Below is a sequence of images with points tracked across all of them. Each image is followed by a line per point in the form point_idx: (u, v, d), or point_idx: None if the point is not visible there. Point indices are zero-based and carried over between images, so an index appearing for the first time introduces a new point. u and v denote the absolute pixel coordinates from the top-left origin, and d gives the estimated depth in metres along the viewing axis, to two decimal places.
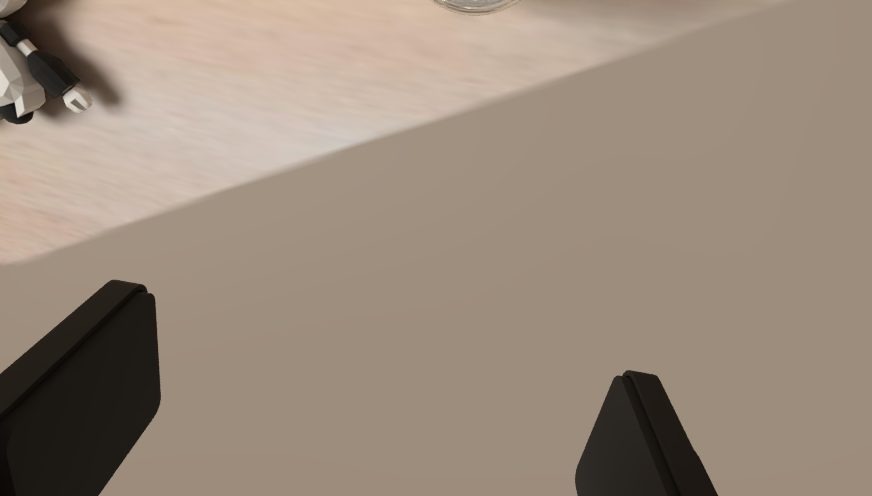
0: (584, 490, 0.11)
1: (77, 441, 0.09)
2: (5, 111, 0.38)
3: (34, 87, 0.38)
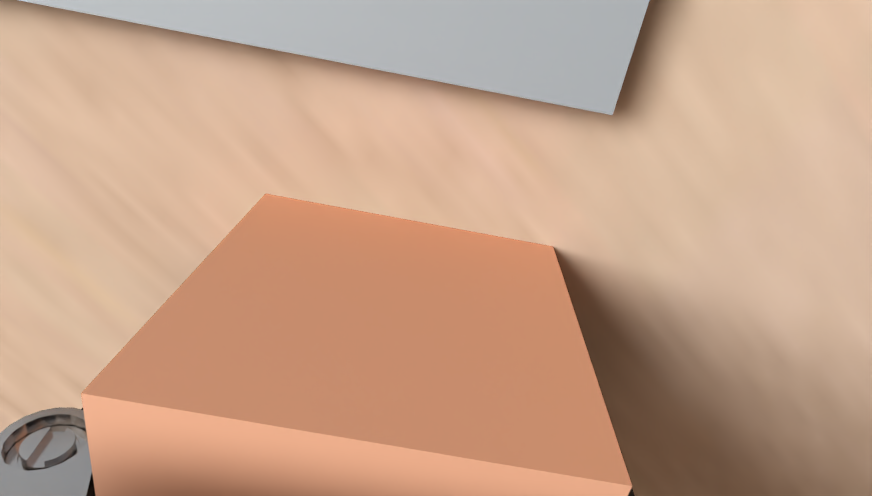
0: None
1: None
2: None
3: None
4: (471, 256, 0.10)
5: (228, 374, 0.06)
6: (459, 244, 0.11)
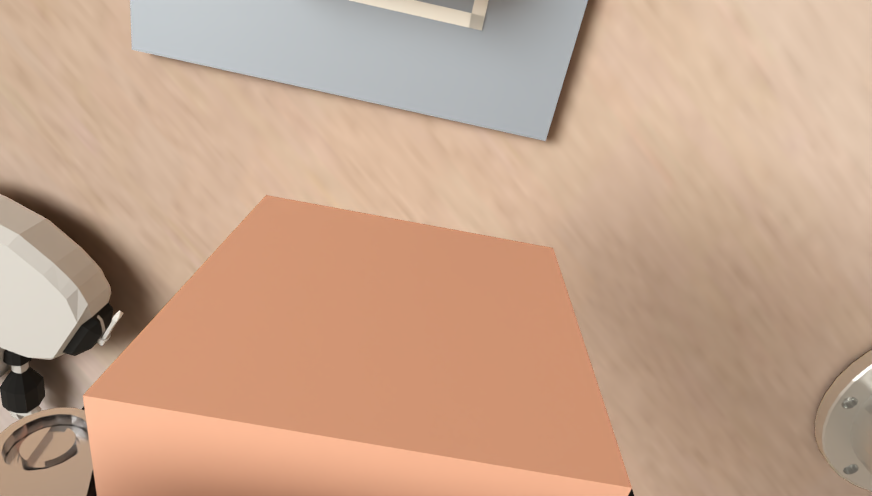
0: None
1: None
2: None
3: None
4: (471, 258, 0.10)
5: (230, 376, 0.06)
6: (460, 246, 0.11)
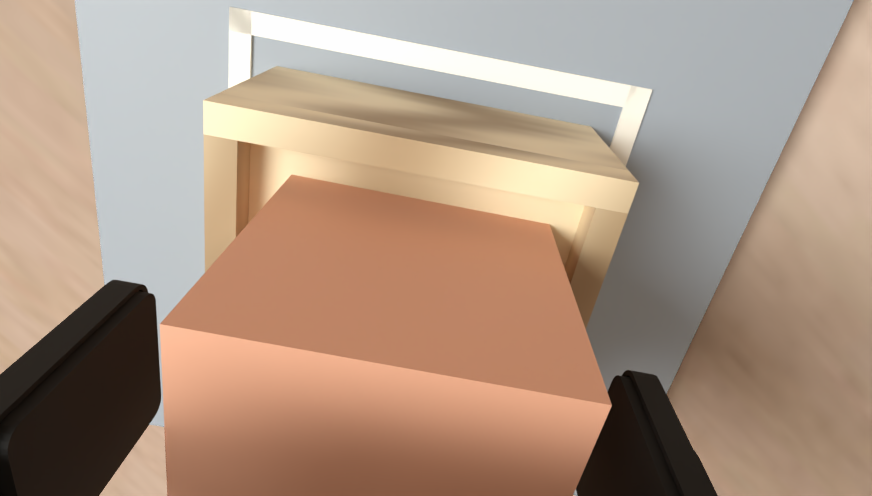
0: (584, 490, 0.11)
1: (78, 441, 0.09)
2: None
3: None
4: (476, 230, 0.12)
5: (277, 313, 0.08)
6: (465, 220, 0.12)
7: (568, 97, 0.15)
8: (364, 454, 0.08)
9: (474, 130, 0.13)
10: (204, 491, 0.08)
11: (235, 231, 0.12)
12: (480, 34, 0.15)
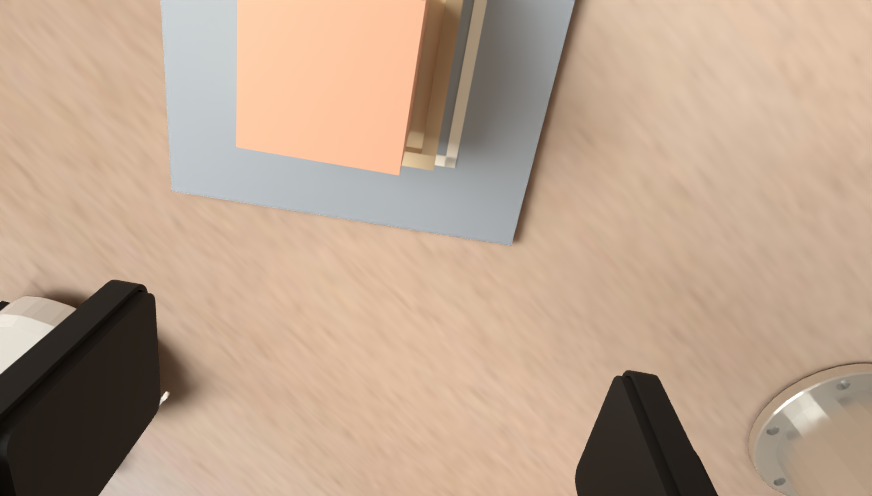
0: (584, 490, 0.11)
1: (77, 441, 0.09)
2: None
3: None
4: None
5: None
6: None
7: None
8: (324, 37, 0.18)
9: None
10: (253, 65, 0.19)
11: None
12: None
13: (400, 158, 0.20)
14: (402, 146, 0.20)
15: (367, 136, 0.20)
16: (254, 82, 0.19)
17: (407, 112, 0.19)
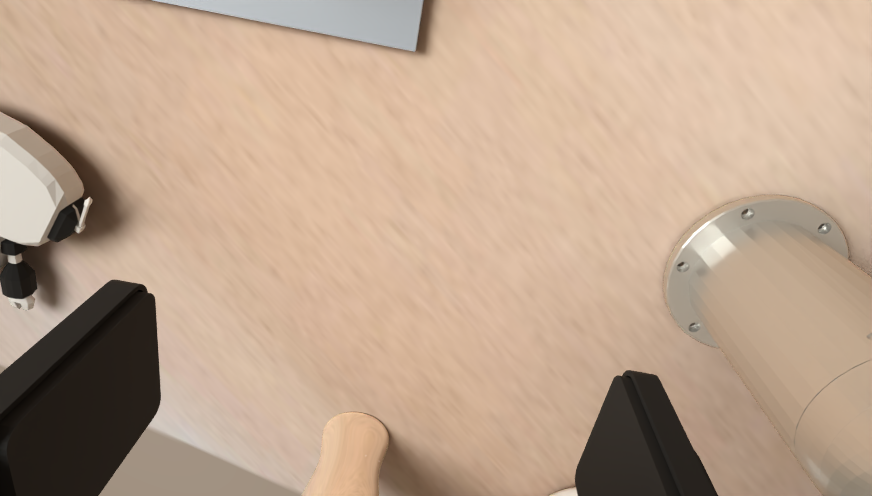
0: (584, 490, 0.11)
1: (77, 441, 0.09)
2: None
3: None
4: None
5: None
6: None
7: None
8: None
9: None
10: None
11: None
12: None
13: None
14: None
15: None
16: None
17: None
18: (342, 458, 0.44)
